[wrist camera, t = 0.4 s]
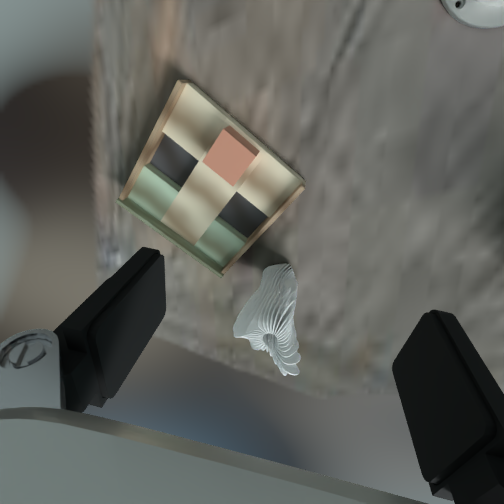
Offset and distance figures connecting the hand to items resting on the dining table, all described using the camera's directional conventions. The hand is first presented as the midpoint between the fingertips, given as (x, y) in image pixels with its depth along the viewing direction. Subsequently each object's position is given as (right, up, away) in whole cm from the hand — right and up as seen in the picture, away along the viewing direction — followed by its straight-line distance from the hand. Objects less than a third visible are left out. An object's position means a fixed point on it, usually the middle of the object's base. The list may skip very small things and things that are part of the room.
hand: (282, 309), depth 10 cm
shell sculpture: (+4, -2, +39) cm, 39 cm away
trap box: (-7, +12, +33) cm, 36 cm away
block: (-3, +15, +27) cm, 32 cm away
